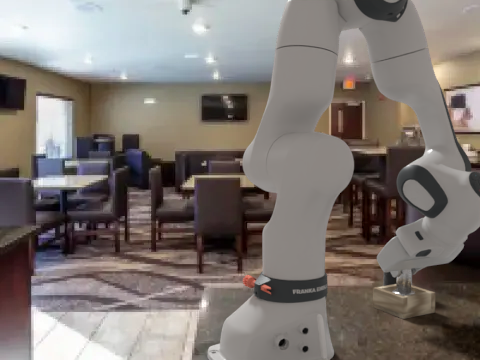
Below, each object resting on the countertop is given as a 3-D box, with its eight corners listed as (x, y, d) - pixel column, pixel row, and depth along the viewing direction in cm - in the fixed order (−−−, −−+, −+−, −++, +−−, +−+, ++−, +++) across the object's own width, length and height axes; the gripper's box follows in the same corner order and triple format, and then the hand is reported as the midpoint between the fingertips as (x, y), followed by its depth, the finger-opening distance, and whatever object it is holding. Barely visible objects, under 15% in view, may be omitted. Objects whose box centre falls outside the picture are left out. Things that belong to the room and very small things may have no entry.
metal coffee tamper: (403, 305, 113) (404, 255, 112) (387, 299, 117) (387, 251, 117) (420, 302, 115) (420, 253, 115) (403, 296, 120) (404, 249, 119)
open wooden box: (402, 318, 110) (403, 298, 110) (372, 307, 119) (373, 287, 118) (434, 312, 114) (435, 292, 114) (403, 301, 123) (403, 282, 123)
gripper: (463, 221, 114) (428, 257, 123) (392, 228, 105) (360, 266, 114) (480, 244, 110) (442, 279, 119) (408, 253, 101) (373, 291, 110)
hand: (401, 273), depth 117 cm, fingers closed on metal coffee tamper, 3 cm apart
